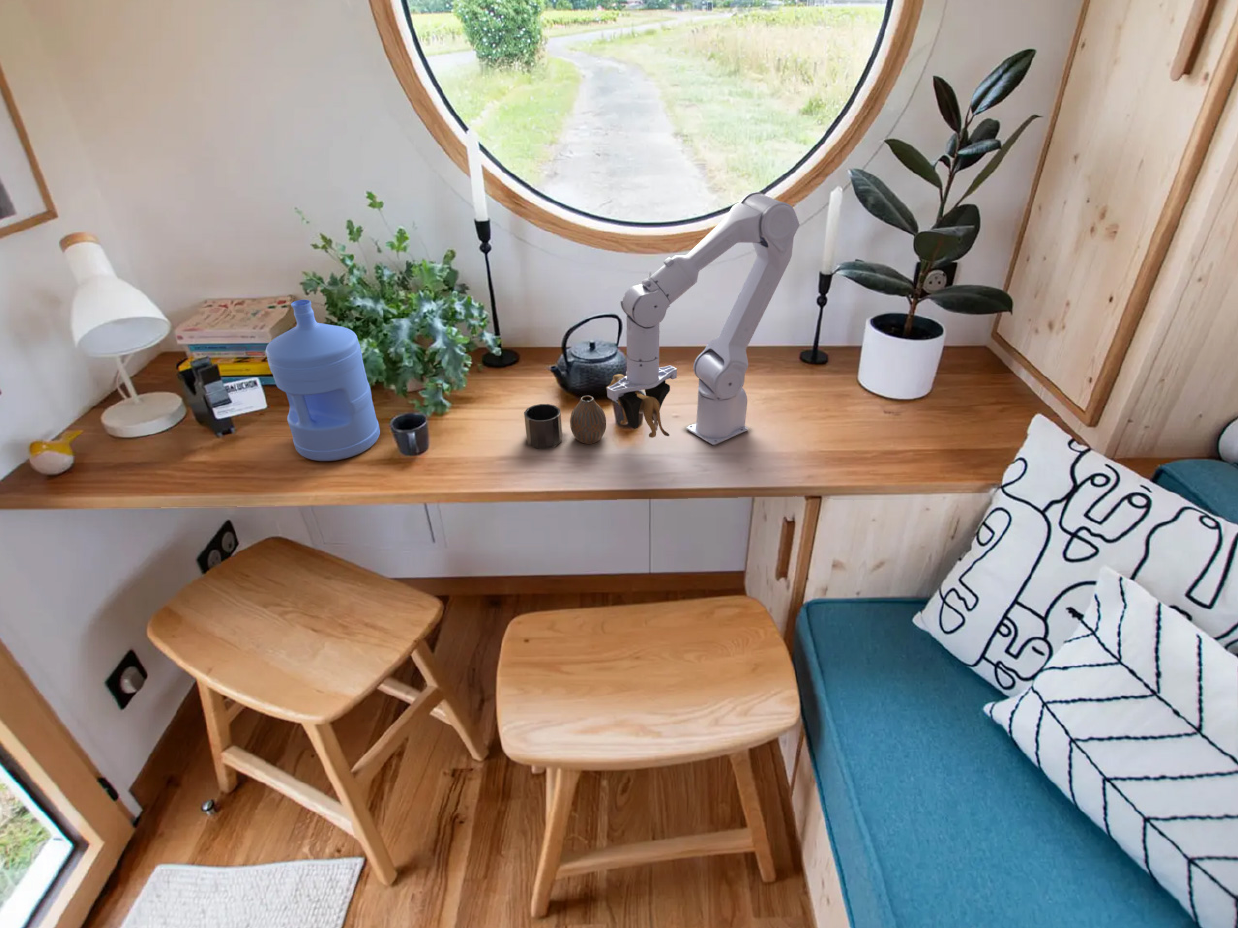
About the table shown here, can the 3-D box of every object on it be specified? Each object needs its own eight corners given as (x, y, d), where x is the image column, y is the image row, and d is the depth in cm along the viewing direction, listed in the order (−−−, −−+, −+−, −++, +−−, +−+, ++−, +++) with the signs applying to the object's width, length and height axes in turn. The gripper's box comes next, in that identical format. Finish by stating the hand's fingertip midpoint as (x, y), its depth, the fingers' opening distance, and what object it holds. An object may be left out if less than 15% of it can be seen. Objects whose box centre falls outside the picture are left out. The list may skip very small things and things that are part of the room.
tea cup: (549, 427, 137) (547, 400, 133) (569, 441, 132) (567, 414, 129) (520, 437, 133) (517, 410, 130) (538, 452, 129) (536, 425, 125)
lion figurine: (600, 420, 130) (603, 374, 127) (618, 414, 134) (621, 369, 131) (660, 442, 122) (665, 393, 118) (678, 435, 125) (683, 388, 122)
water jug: (333, 416, 141) (296, 284, 126) (397, 428, 137) (367, 292, 121) (278, 454, 129) (229, 313, 114) (346, 469, 125) (305, 324, 109)
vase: (594, 451, 129) (592, 410, 124) (564, 441, 132) (561, 401, 127) (613, 435, 134) (612, 395, 129) (583, 426, 137) (582, 387, 132)
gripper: (660, 337, 126) (659, 402, 134) (596, 358, 119) (598, 426, 127) (685, 350, 121) (682, 416, 129) (620, 372, 114) (621, 441, 122)
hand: (642, 422), depth 127 cm, fingers closed on lion figurine, 4 cm apart
